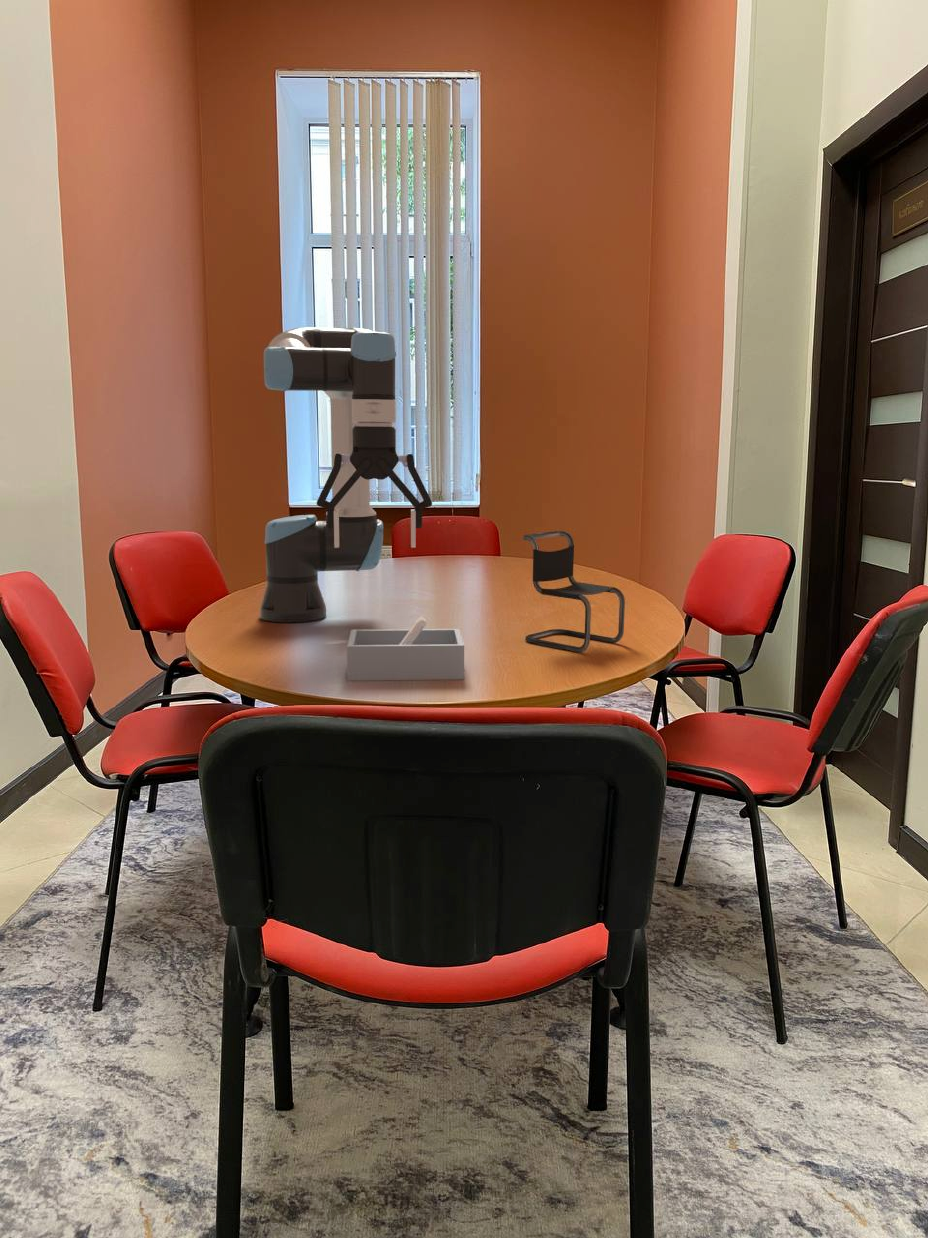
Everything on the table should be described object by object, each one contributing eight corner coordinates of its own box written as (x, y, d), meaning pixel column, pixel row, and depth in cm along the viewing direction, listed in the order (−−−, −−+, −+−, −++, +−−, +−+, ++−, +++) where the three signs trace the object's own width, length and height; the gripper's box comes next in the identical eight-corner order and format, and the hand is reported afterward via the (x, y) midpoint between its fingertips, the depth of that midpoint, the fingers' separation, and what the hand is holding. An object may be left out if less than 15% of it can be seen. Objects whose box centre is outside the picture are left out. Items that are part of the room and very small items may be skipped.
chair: (556, 632, 196) (559, 530, 192) (624, 644, 185) (628, 536, 180) (517, 641, 187) (519, 534, 183) (587, 655, 175) (590, 541, 171)
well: (352, 661, 169) (351, 629, 168) (459, 660, 170) (459, 628, 169) (347, 680, 155) (346, 646, 154) (464, 679, 157) (464, 645, 155)
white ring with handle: (453, 647, 158) (420, 627, 156) (413, 698, 161) (381, 678, 159) (450, 629, 165) (418, 609, 162) (412, 678, 168) (380, 659, 166)
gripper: (299, 424, 153) (302, 549, 157) (447, 426, 155) (446, 549, 159) (303, 424, 160) (306, 543, 165) (444, 425, 162) (443, 543, 167)
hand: (375, 546), depth 162 cm, fingers open, 13 cm apart
